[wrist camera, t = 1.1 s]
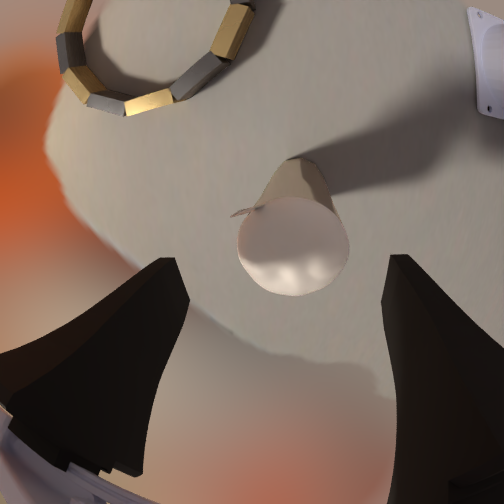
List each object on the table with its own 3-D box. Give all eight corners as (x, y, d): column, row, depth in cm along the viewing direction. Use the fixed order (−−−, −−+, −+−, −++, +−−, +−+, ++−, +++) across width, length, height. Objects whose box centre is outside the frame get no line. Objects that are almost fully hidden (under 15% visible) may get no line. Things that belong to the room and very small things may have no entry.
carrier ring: (236, -81, 7) (228, -94, 5) (268, 86, 14) (263, 86, 13) (69, -11, 10) (53, -12, 8) (90, 129, 18) (73, 136, 16)
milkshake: (302, 123, 15) (299, 176, 7) (344, 193, 18) (372, 300, 9) (243, 160, 18) (184, 244, 9) (287, 222, 20) (270, 336, 12)
